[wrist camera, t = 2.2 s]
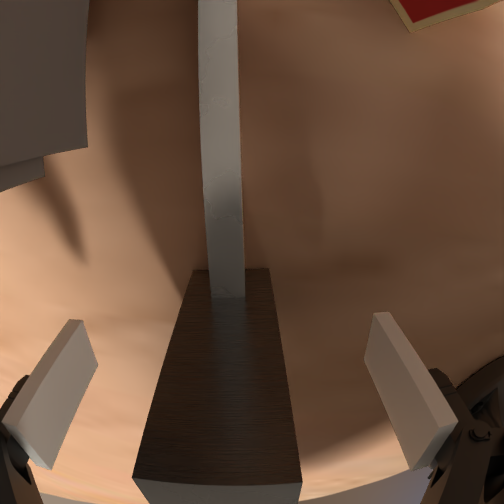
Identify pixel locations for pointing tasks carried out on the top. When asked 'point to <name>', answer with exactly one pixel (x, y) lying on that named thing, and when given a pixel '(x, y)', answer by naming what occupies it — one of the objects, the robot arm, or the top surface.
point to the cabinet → (40, 84)
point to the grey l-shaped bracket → (222, 331)
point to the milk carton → (435, 10)
